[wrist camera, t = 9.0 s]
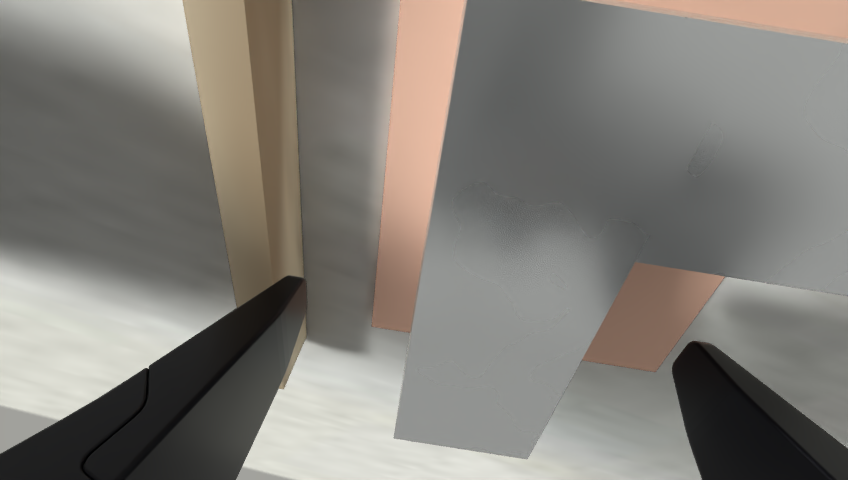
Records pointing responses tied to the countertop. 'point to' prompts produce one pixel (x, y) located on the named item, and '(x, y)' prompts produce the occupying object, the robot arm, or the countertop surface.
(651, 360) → the pad
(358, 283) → the countertop surface
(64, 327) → the countertop surface
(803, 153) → the bracket
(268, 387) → the robot arm
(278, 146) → the tan corner rail
